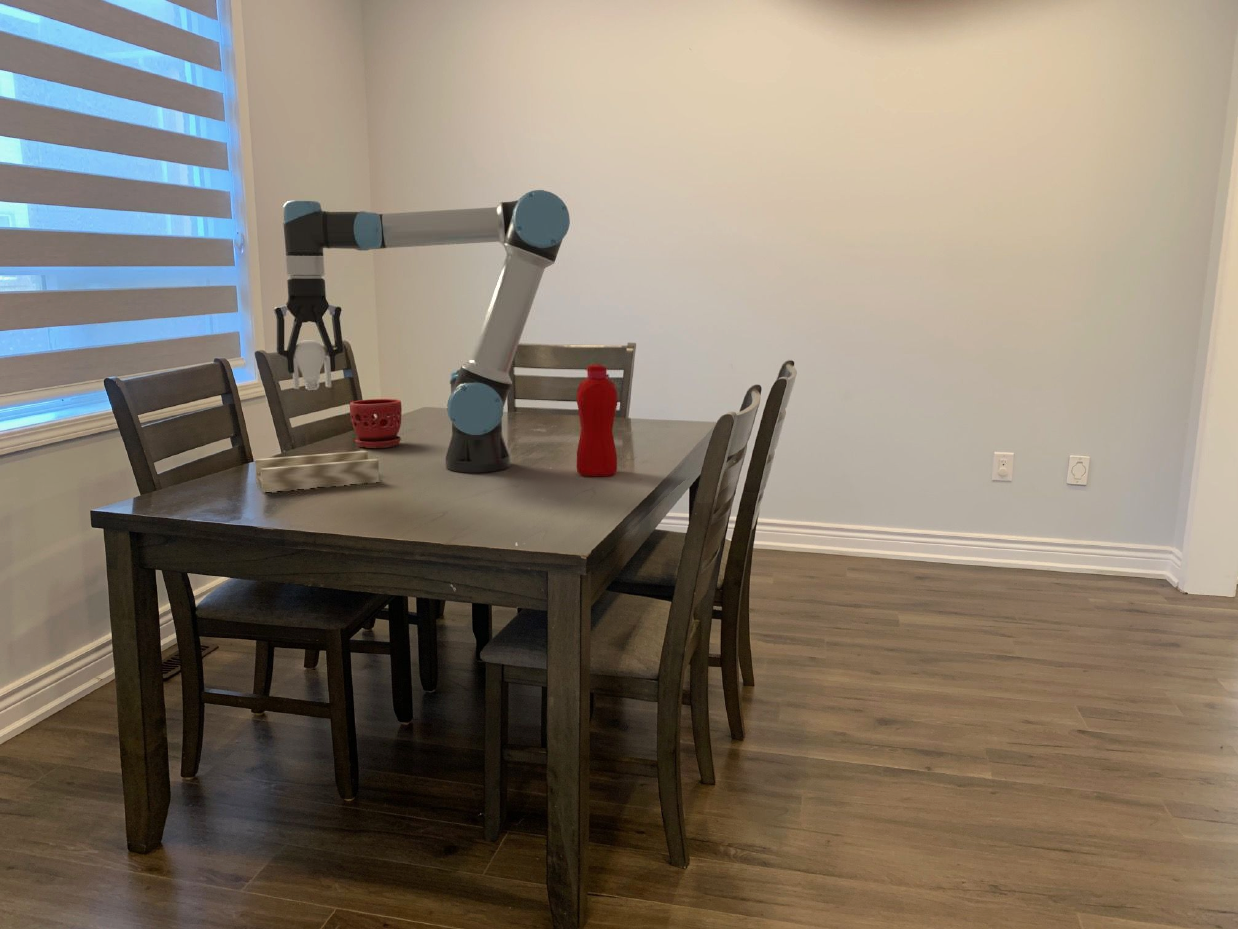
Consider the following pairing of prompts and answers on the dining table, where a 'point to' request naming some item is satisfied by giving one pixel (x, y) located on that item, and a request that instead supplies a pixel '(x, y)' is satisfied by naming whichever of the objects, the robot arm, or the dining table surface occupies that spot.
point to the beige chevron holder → (315, 471)
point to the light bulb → (310, 362)
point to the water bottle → (597, 423)
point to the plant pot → (376, 422)
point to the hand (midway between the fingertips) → (312, 387)
